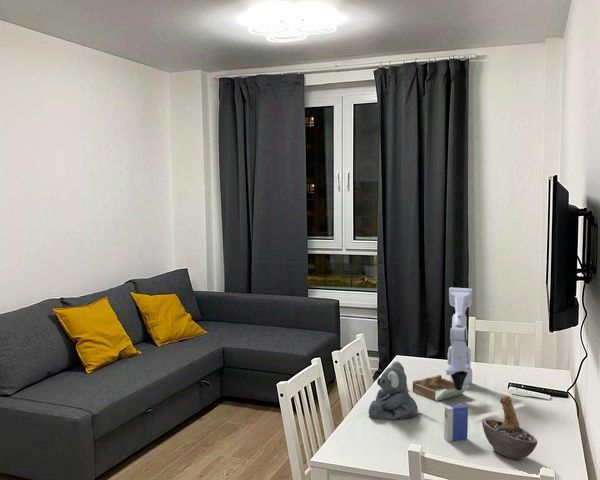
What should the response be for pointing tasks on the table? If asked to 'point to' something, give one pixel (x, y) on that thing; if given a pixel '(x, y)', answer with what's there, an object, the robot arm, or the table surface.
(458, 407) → the walkman
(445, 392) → the panel
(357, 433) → the table surface
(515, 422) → the planter
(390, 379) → the koala plush
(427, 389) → the crate
